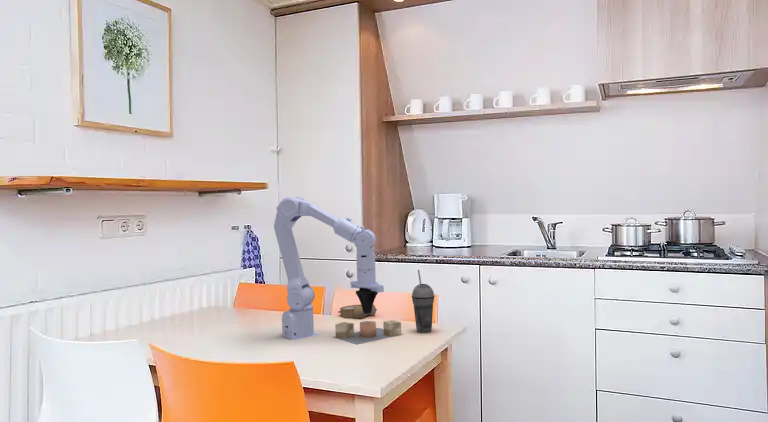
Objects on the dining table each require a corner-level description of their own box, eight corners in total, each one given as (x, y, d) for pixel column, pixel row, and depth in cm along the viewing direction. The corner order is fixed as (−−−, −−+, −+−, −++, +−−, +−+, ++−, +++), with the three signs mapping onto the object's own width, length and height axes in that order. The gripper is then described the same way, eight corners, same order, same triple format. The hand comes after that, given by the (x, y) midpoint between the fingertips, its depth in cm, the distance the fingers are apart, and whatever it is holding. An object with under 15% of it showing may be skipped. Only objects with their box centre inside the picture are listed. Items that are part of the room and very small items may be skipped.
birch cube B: (389, 336, 181) (389, 323, 180) (383, 334, 184) (383, 321, 184) (401, 335, 182) (400, 322, 182) (394, 332, 186) (394, 319, 186)
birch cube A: (345, 338, 180) (345, 325, 180) (335, 337, 182) (335, 324, 182) (354, 336, 183) (353, 323, 183) (344, 334, 185) (343, 321, 185)
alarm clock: (354, 304, 227) (382, 300, 217) (356, 317, 226) (384, 314, 216) (332, 308, 219) (361, 305, 209) (335, 322, 218) (363, 319, 208)
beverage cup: (434, 336, 182) (432, 271, 182) (410, 335, 184) (408, 271, 183) (437, 330, 190) (435, 268, 189) (414, 330, 191) (412, 268, 191)
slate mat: (356, 346, 172) (356, 344, 172) (332, 339, 183) (332, 337, 183) (404, 336, 184) (404, 334, 184) (378, 329, 194) (378, 327, 194)
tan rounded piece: (366, 338, 180) (366, 325, 179) (356, 335, 184) (356, 322, 183) (379, 335, 183) (379, 322, 183) (369, 332, 187) (369, 320, 186)
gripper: (390, 269, 179) (392, 314, 180) (362, 266, 191) (363, 308, 191) (372, 272, 175) (373, 317, 175) (344, 268, 186) (345, 311, 187)
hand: (367, 313), depth 183 cm, fingers closed
